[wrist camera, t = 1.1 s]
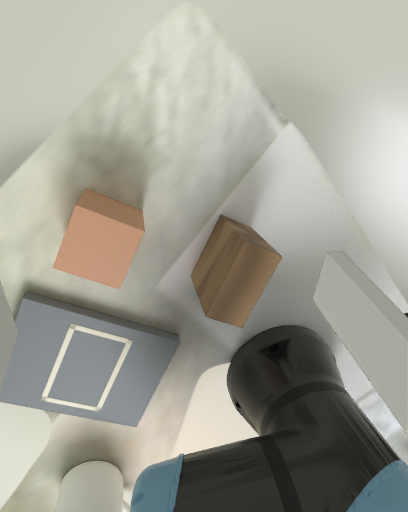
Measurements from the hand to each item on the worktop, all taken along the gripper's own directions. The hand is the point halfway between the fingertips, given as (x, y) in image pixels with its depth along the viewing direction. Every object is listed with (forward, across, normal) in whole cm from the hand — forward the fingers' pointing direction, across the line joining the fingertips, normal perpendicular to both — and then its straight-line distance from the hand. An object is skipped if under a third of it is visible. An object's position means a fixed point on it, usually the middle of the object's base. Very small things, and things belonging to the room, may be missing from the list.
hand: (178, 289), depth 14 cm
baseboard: (+18, +8, +26) cm, 32 cm away
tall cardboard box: (+21, -8, +12) cm, 26 cm away
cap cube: (+22, +4, +9) cm, 24 cm away
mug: (+14, +8, +47) cm, 50 cm away
